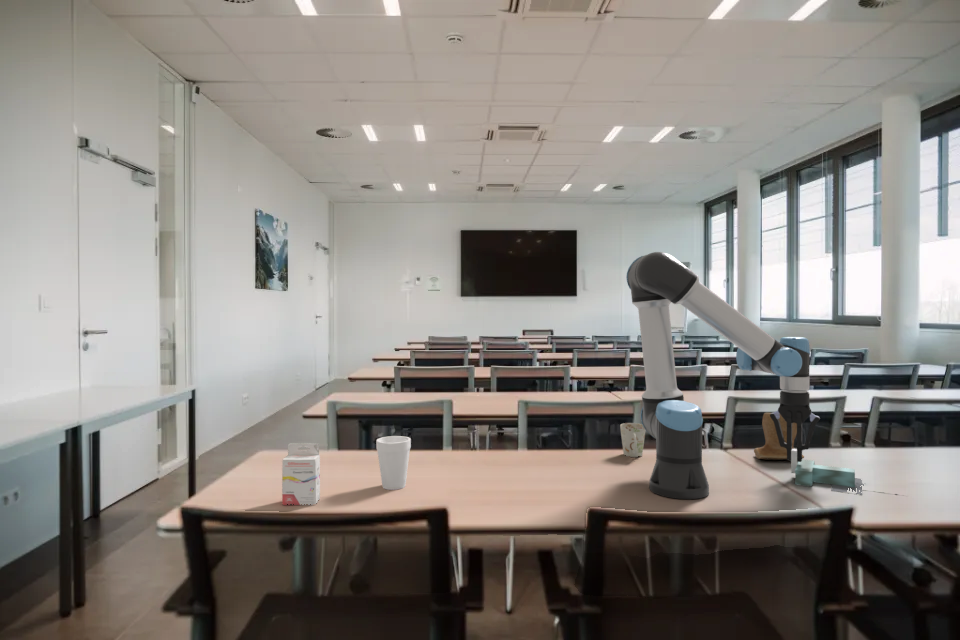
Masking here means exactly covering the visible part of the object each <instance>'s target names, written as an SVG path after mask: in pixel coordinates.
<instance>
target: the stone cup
mask: <svg viewBox="0 0 960 640" xmlns="http://www.w3.org/2000/svg"><path fill="white" fill-rule="evenodd" d="M771 413H772V412H764V413H763V415H762V420H761V422H762V423H761V426H762V429H763V434H764V440H765V444H764V445H763V446H761V447H755V448H754V449H753V453H754V456H755V457H756V459H758V460H769V461H770V460H772V461H774V460H775V461H778V460H779V461H780V460H781V461H782V460H783V461H784V460H785V461H786V460H787V449H786V448H784V447H781V446H780V444H779V440H778V436H777V432H776V429H775V425H774V421H773V420H772V419H771V417H770V414H771ZM779 416H780V417H779V421H780V425H781V429H782V433H783V437H784V440H785V443H787V422H786V421H785V420H784V418H783V417H782V416H781V415H780V414H779ZM796 438H797V423H792V449H795V447H794V446H795V445H794V444H795V439H796ZM802 459H803V460H804V459H805V455H803V454H802ZM787 461H788V460H787Z"/></svg>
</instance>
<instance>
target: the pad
mask: <svg viewBox="0 0 960 640" xmlns="http://www.w3.org/2000/svg"><path fill="white" fill-rule="evenodd" d="M861 479H862V478H856V477H855V487H850V486H842V485H833V484H831V488H830V491H831V492H836V493H837V492H838V493H843V492H847V490H848V488H849V491H850V488H851V489H852V492H853V490H854V491H855V492H856V488H857V493H856V494H855V495H857V494H860V495H859V496H863V490H862V486H861V485H863V486H864V484H865V483H864V484H863V479H862V480H861ZM860 486H861V487H860ZM859 490H860V492H859ZM861 492H862V493H861Z"/></svg>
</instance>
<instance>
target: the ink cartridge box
mask: <svg viewBox="0 0 960 640" xmlns="http://www.w3.org/2000/svg"><path fill="white" fill-rule="evenodd" d="M303 447H304V448H306V449H301V448H303ZM281 462H282V465H281V466H282V468H281V471H282V472H281V473H282V474H281V475H282V479H281V480H282V481H281V483H282V484H281V485H282V486H281V487H282V489H281V492H282V493H281V496H282V497H281V499H282V500H281V502H282V503H281V504H283V505H282V506H314V505H313V504H316V503H319V501H320V498H321V472H320V471H321V455H320V444H319V443H318V442H317V443H315V442H314V443H312V442H311V443H309V442H308V443H304V442H303V443H301V442H300V443H299V442H298V443H297V442H295V443H288V444H287V455H286V456H285V457H284V458H282V461H281ZM318 500H319V501H318ZM287 504H288V505H287ZM290 504H292V505H290ZM293 504H294V505H293ZM301 504H302V505H301ZM304 504H305V505H304ZM306 504H308V505H306ZM310 504H311V505H310ZM316 505H317V504H316Z"/></svg>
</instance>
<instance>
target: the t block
mask: <svg viewBox="0 0 960 640" xmlns="http://www.w3.org/2000/svg"><path fill="white" fill-rule="evenodd" d="M794 478H795V479H794V480H795V481H794V484H795V486H805V487H812V486H813V483H820V484H827V485H832V484H833V485H842V486H850V487H855V478H856V469H855V468H848V467H838V466H832V465H831V466H829V465H821V464H815V460H811V459H804V458H803V459H802V461H801V462H798V464H797V467H796V469H795V473H794Z"/></svg>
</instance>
